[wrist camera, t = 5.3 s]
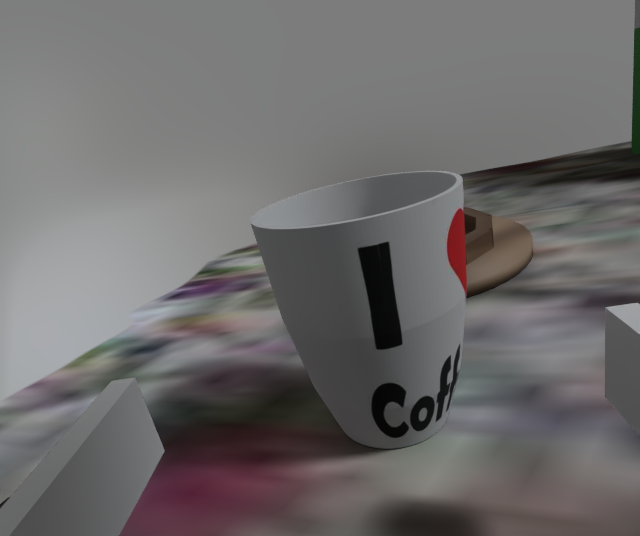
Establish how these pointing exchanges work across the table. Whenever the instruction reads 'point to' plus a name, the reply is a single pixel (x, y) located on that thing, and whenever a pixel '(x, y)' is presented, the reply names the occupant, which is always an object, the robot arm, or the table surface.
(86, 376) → the table surface
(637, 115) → the hardback book
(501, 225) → the round tray
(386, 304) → the cup
